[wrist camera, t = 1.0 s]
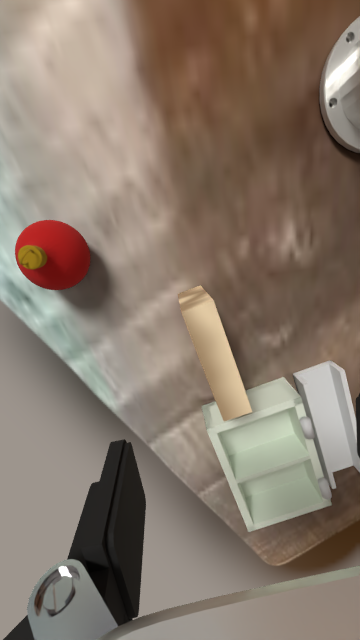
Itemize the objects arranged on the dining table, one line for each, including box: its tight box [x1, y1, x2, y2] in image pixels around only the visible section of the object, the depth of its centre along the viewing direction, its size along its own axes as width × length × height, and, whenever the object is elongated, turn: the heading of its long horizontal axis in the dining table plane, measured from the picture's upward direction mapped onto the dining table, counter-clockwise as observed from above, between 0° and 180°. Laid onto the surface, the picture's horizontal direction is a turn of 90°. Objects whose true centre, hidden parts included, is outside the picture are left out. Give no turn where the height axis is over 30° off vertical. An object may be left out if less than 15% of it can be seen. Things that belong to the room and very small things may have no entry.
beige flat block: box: [178, 286, 252, 422], centre depth 30 cm, size 3×12×10 cm, turn 21°
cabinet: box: [202, 360, 360, 532], centre depth 36 cm, size 19×18×6 cm
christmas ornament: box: [15, 220, 90, 290], centre depth 26 cm, size 7×7×10 cm
